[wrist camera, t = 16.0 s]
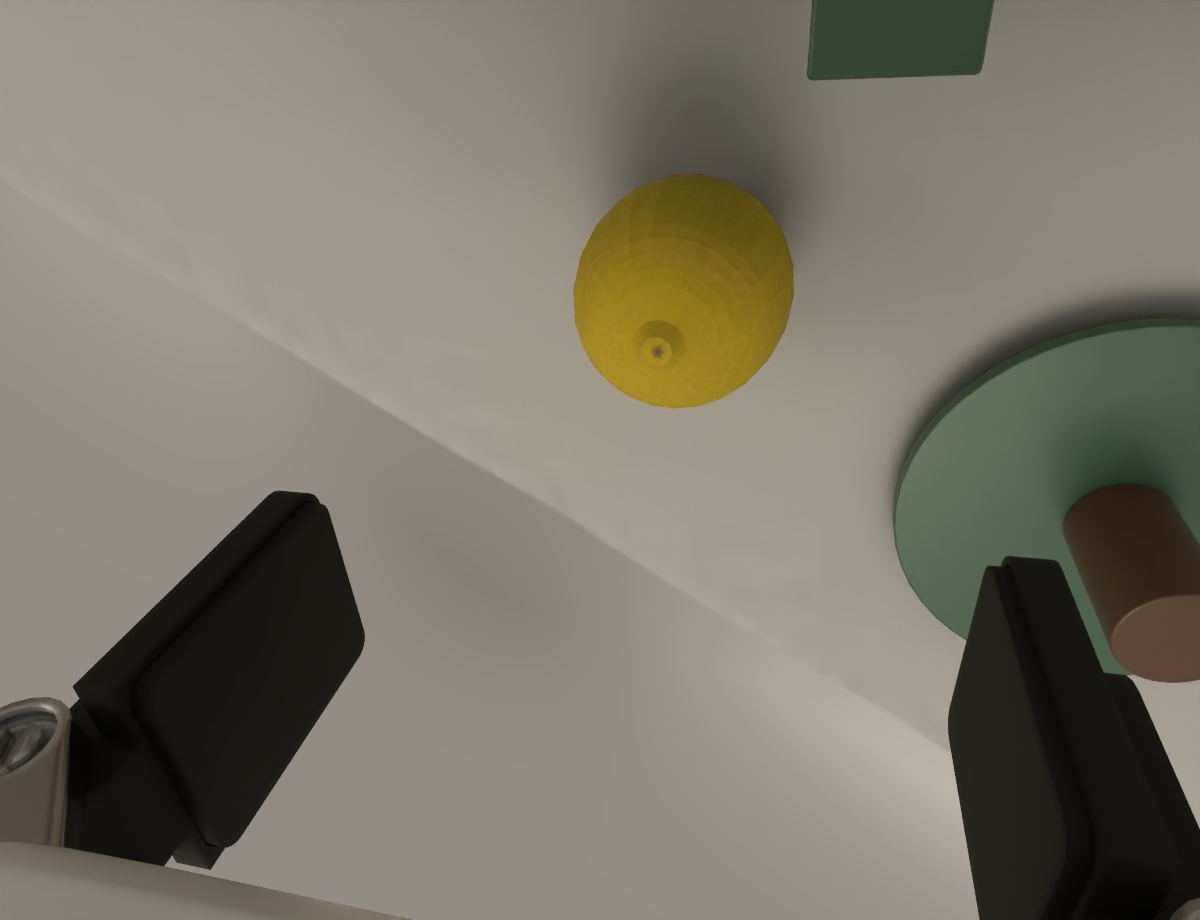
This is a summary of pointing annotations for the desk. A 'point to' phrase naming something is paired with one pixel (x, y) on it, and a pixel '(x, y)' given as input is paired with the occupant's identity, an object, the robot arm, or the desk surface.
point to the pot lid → (1071, 489)
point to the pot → (897, 38)
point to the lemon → (683, 291)
